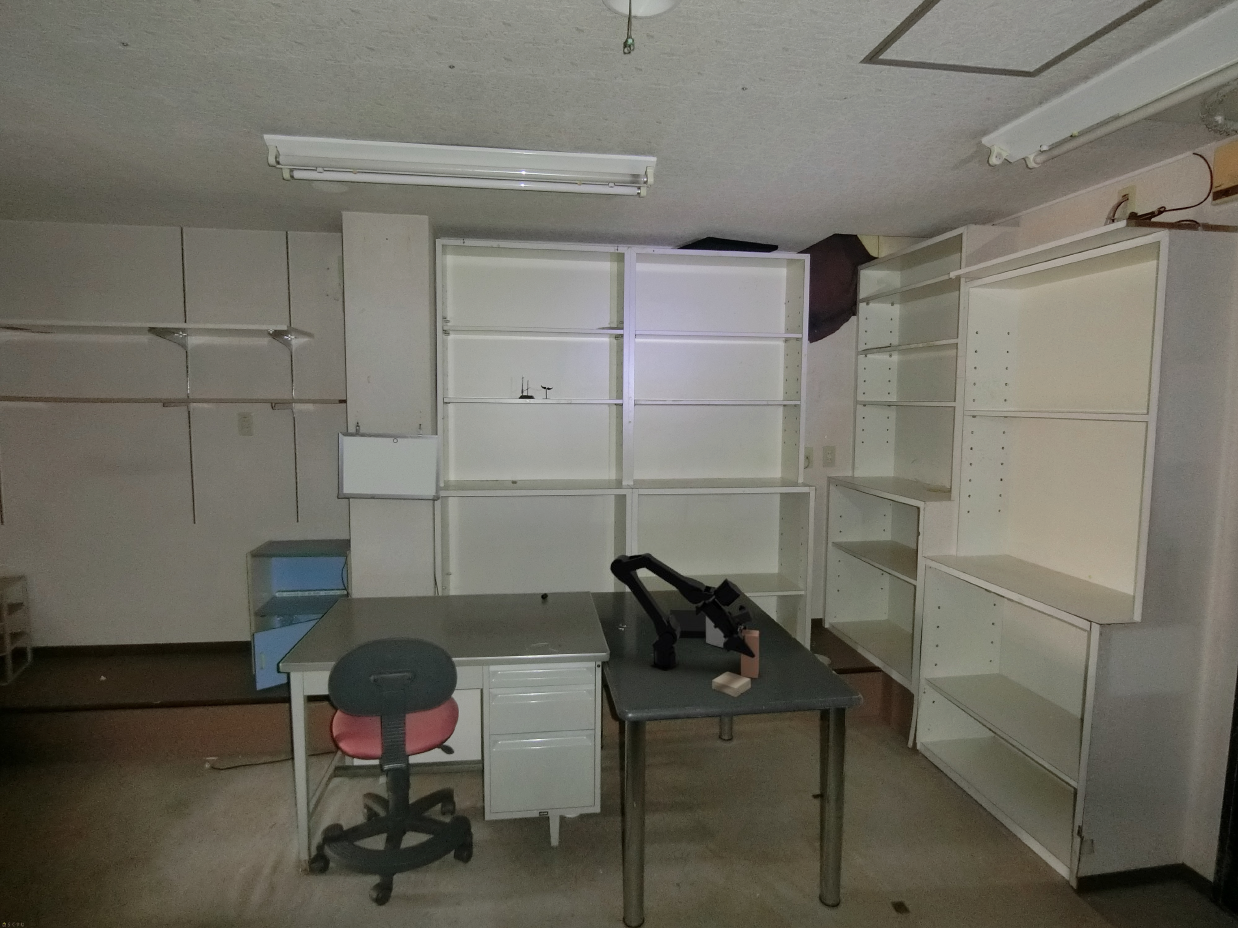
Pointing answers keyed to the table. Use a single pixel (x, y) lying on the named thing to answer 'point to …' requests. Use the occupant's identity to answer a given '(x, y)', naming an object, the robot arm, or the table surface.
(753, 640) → the column
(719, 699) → the table surface
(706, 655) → the table surface
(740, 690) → the slab
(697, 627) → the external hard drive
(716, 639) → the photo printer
